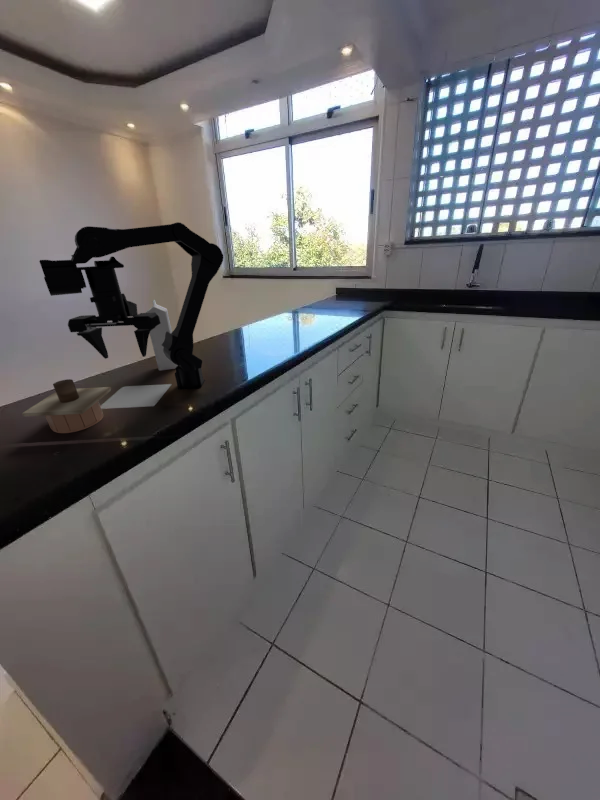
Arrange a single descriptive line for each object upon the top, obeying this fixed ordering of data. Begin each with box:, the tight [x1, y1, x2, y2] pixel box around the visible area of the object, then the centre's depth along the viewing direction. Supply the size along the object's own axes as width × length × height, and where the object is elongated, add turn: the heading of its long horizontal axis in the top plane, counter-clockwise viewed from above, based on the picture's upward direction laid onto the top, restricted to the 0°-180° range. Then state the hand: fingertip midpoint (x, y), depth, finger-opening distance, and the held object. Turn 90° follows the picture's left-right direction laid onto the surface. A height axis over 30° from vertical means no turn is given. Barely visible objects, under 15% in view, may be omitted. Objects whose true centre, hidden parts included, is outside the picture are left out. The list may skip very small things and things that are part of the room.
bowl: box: [44, 400, 104, 434], centre depth 70 cm, size 10×10×6 cm
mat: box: [100, 383, 172, 410], centre depth 83 cm, size 14×14×1 cm
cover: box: [21, 378, 112, 418], centre depth 68 cm, size 12×12×5 cm
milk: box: [145, 299, 178, 371], centre depth 99 cm, size 6×6×22 cm
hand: (125, 357), depth 76 cm, fingers open, 9 cm apart
